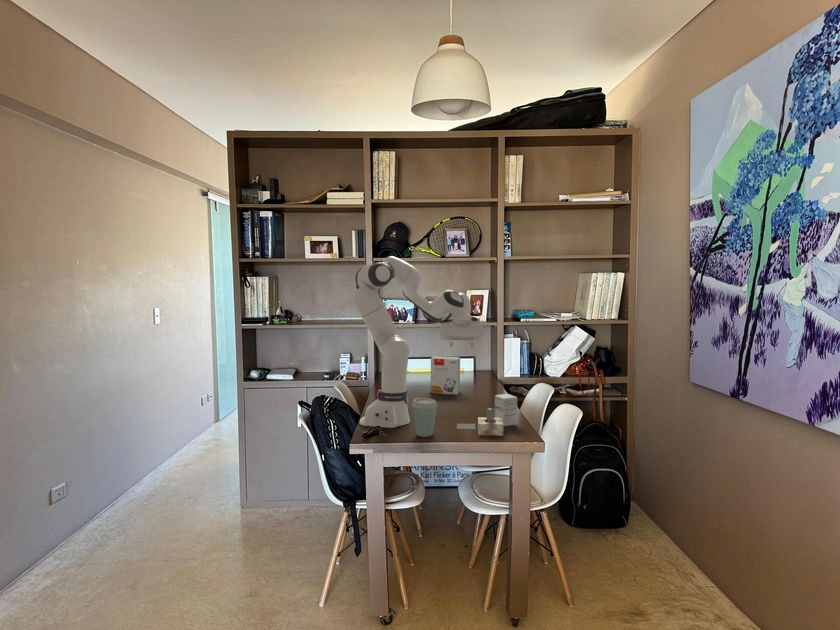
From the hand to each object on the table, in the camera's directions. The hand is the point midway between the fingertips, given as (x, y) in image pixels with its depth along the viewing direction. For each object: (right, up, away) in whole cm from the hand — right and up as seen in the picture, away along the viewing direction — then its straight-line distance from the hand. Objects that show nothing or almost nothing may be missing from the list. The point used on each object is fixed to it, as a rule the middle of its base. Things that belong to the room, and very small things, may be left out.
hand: (461, 346), depth 241 cm
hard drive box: (-5, -29, +56) cm, 63 cm away
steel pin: (+10, -35, -19) cm, 41 cm away
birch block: (+10, -35, -19) cm, 41 cm away
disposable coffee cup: (-17, -36, -22) cm, 45 cm away
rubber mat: (+1, -34, -11) cm, 36 cm away
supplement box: (+19, -34, -6) cm, 39 cm away
